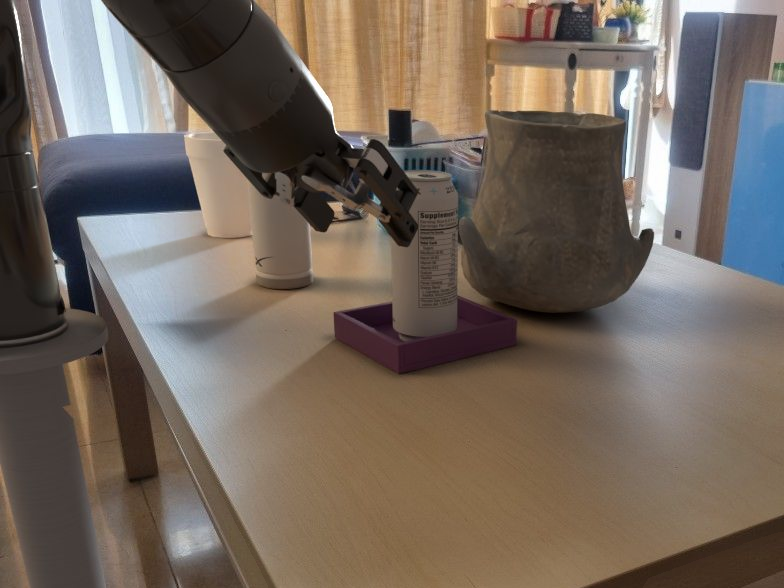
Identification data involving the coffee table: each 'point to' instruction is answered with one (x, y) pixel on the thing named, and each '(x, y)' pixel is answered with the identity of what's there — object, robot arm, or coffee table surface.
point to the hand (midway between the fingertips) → (367, 230)
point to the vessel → (552, 214)
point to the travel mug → (279, 242)
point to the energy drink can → (427, 261)
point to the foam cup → (218, 186)
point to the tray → (383, 344)
